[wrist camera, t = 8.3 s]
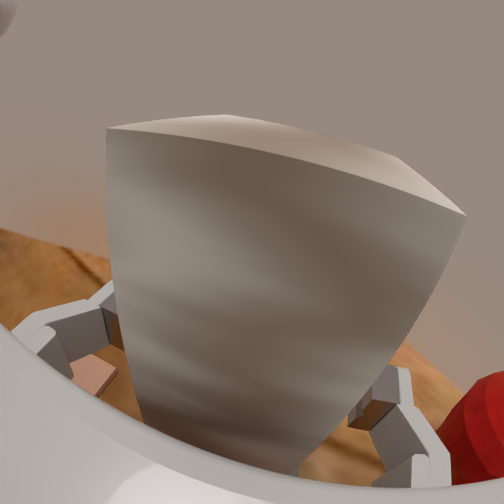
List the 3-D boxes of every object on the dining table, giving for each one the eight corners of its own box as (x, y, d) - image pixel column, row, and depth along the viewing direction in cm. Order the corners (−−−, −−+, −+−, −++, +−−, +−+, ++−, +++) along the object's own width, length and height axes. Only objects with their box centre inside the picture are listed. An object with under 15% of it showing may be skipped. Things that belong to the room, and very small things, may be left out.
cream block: (159, 464, 11) (106, 128, 4) (197, 393, 15) (226, 114, 8) (258, 499, 10) (467, 216, 3) (282, 421, 14) (395, 156, 7)
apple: (477, 457, 14) (568, 372, 9) (450, 532, 9) (577, 461, 3) (415, 422, 19) (500, 324, 13) (374, 496, 13) (497, 414, 7)
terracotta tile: (-2, 386, 14) (-5, 382, 14) (52, 331, 21) (50, 327, 21) (62, 444, 13) (59, 441, 13) (117, 372, 20) (116, 367, 19)
